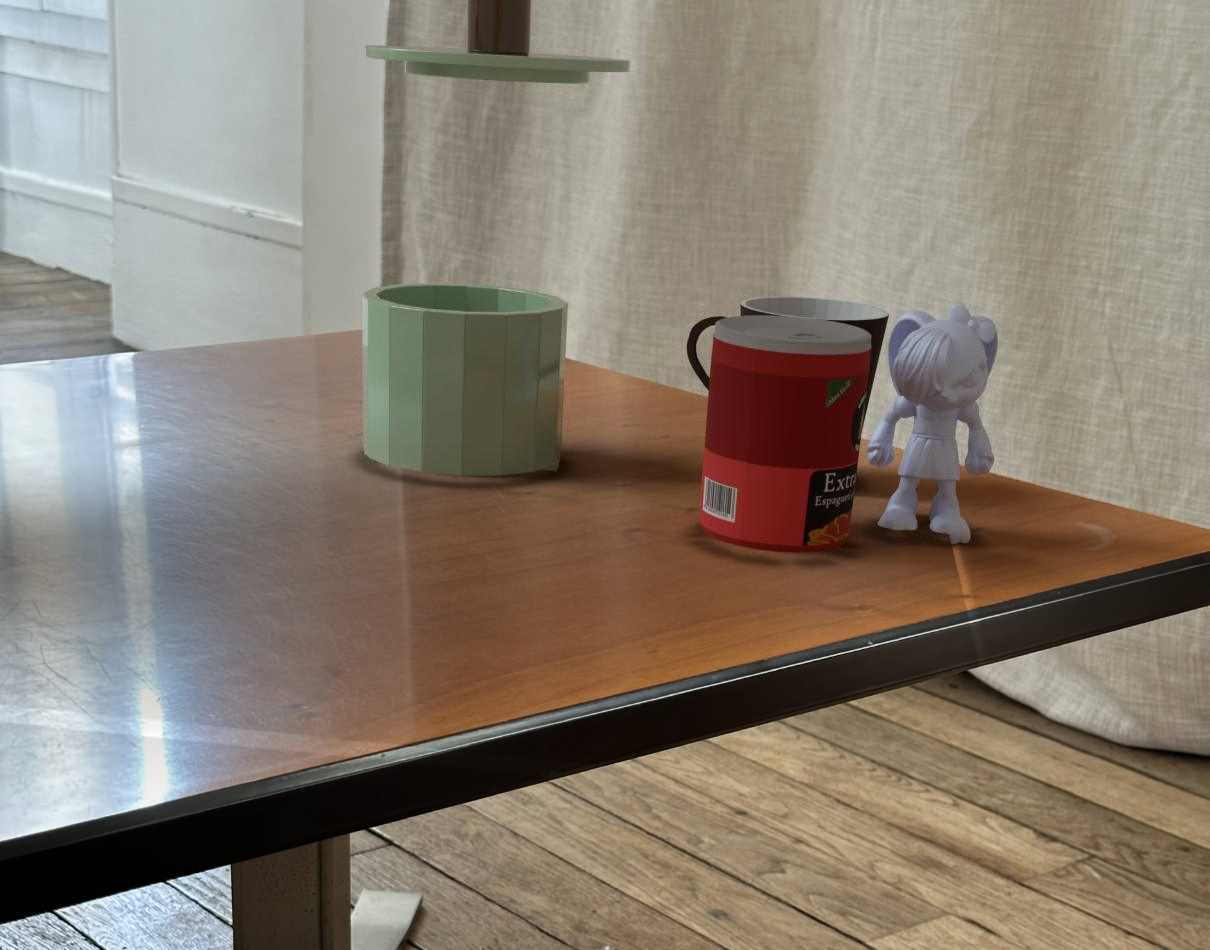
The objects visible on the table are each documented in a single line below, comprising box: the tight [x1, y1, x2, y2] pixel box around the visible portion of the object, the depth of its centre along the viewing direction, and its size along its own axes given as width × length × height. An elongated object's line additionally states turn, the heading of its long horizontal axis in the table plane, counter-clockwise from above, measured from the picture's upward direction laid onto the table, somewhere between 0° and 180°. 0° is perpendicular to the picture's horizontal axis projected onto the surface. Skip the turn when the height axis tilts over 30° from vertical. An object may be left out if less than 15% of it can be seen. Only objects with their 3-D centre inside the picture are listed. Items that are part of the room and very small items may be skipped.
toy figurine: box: [865, 303, 999, 545], centre depth 91 cm, size 7×6×12 cm
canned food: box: [698, 315, 871, 553], centre depth 88 cm, size 8×8×11 cm
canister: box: [362, 282, 569, 477], centre depth 101 cm, size 12×12×10 cm
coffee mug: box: [686, 296, 890, 431], centre depth 102 cm, size 12×9×10 cm
